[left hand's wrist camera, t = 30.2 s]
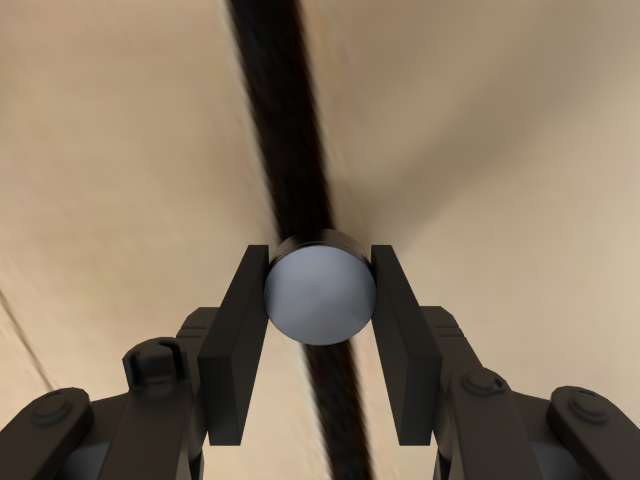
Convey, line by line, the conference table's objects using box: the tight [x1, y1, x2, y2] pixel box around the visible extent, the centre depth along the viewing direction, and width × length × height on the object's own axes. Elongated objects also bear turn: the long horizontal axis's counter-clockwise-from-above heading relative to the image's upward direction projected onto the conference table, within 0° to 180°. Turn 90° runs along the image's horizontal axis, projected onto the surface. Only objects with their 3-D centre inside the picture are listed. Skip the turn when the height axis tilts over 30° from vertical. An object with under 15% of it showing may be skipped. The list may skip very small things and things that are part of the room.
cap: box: [263, 228, 377, 345], centre depth 14 cm, size 4×4×2 cm
